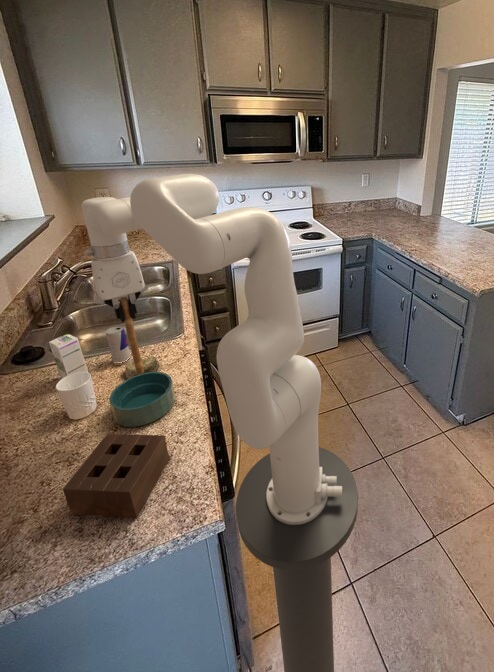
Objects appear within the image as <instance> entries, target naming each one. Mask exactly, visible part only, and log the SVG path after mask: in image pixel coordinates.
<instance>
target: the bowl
mask: <svg viewBox="0 0 494 672" xmlns="http://www.w3.org/2000/svg"><path fill="white" fill-rule="evenodd" d="M175 401H176V393H175V387H174V383H173V380H172V377H171V375H169V374H168V373H165V372H162V371H156V372H148V373H142V374H139V375H136V376H134V377H131V378H129V379H127V378H126V380H124V381H123V382H121V383H120V384H118V385H117V386H116V387H115V388H114V389H113V390H112V391H111V393H110V396H109V406H110V410H111V412H112V413H111V414H112V417H113V420H114V421H115V423H117V425H119V426H122V427H127V428H136V427H140V426H145V425H147V424H150V423H152V422H155V421H157V420H159V419H160V418H161V417H163V416H165V415H166V414H167V413H168V412H169V411H170V410H171V409H172V407H173V406H174V404H175Z"/></svg>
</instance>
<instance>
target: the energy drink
mask: <svg viewBox="0 0 494 672" xmlns="http://www.w3.org/2000/svg"><path fill="white" fill-rule="evenodd" d="M105 336H106V340H107V344H108V348H109V352H110V355H111V360H112V364H113V365H115V366H122V365H126V364H127V363H128V361H130V360H131V359H132V357H130V355H131V350H130V348H129V347H130V346H129V342H128V337H127V333H126V329H125V327H124V326H122V325H115V326H112V327H109V328H107V330H106V331H105ZM129 357H130V358H129ZM128 358H129V359H128ZM127 359H128V360H127ZM125 360H127V361H125ZM122 361H125V362H122ZM114 362H122V363H114Z"/></svg>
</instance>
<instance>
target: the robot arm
mask: <svg viewBox="0 0 494 672" xmlns="http://www.w3.org/2000/svg"><path fill="white" fill-rule="evenodd" d="M219 202H220V193H219V190H218V187H217V185H216V184H215V183H214V182H213V181H212V180H211V179H209V178H208V177H207V176H204V175H201V174H197V173H182V174H175V175H166V176H159V177H158V176H157V177H150V178H146V179H143V180H141V181H139V182H138V183H136V185H135V186H134V187H133V188H132V191H131V193H130V196H128V197H121V198H116V197H112V196H100V197H99V196H98V197H93V198H89V199H88V198H87V199H84V200H83V202H82V203H81V211H82V215H83V218H84V222H85V227H86V230H87V235H88V238H89V242H90V246H89V248H88V249H85V250H84V253H85V256H93V257H91V273H92V280H93V285H94V289H95V293H94V297H93V302H94V304H96V305H107V306H109V307H111V308H113V309H114V314H115V318H116V320H120V321H121V323H124V322H125V317H124V313H123V309H122V307H121V306H120V302H119V298H122V297H127V300H128V305H129V309H130V313H131V317H132V320H133V319H134V320H135V319H137V318H136V314H138V311H137V305H136V303H137V300H138V299H139V298H140V296H141V295H142V294H143V293H145V292H147V291H148V290H149V287H148V285H147V284H146V283H145V281H144V277H143V273H142V270H141V266H140V263H139V259H138V258H137V256H136V253H135V251H134V250H133V251H132V250H130V245H129V240H128V236H127V234H128V233H131V232H136V231H140V230H144V232H145V233H146V234H147V235H148V236H149V237H150V238H151V239H153V241H154V242H156V243H157V244H158V245H159V246H160V247H161V248H162V249H163V250H164V251H165V252H166V253H167V254H168V255H169V256H170V257H171V258H172V259H173V260H175V261H176V262H177V264H179V265H180V266H181V267H182V268H184V269H185V270H187V271H188V272H190V273H193V274H198V275H206V274H210V273H213V272H216V271H218V270H220V269H223V268H225V267H227V266H230V265H233V264H235V263H237V262H239V261H242V260H245V259H248V260H249V262H248V266H247V268H246V273H245V277H244V296H245V300H246V304H247V311H248V316H247V318H246V319H245V321H243V322H242V323H240V324H238V325H236V326H235V327H234V328H232V329H231V330H229V331H228V332H227V333H225V335H224V336H223V337H221V340H220V341H219V343H218V346H217V349H216V366H217V371H218V375H219V379H220V383H221V386H222V390H223V393H224V394H223V395H224V398H225V401H226V402H225V403H226V406H227V409H228V413H229V417H230V420H231V423H232V426H233V428H234V430H235V432H236V434H237V436H238V437H239V439H240V440H241V442H243V443H244V444H245V445H246V446H248V447H249V448H252V449H254V450H263V449H267V448H269V453H270V459H271V469H272V479H271V481H270V483H269V485H268V488H267V493H266V499H267V505H268V508H269V511H270V512H271V514H272V515H273V516H274V517H275V518H276V519H277V520H279V521H280V522H282V523H285V524H289V525H300V524H304V523H307V522H309V521H311V520H313V519H314V518H316V517H317V516H318V515H319V514H320V513H321V512H322V510H323V509H324V507H325V505H326V502H327V498H328V496H330V497H340V498H342V486H327V483H330V484H336V483H337V476H325V474H323V473H322V467H319V447H320V445H319V411H320V403H321V397H322V378H321V374H320V371H319V369H318V367H317V365H315V363H314V362H313V361H312V360H311V359H309V358H308V357H306V356H303V355H300V354H299V355H298V354H297V353H298V352H299V351H300V350H301V349H302V347H303V345H304V342H305V331H304V325H303V319H302V318H303V317H302V313H301V309H300V303H299V297H298V292H297V288H296V282H295V277H294V268H293V267H294V266H293V253H292V245H291V241H290V237H289V234H288V232H287V230H286V227H285V226H284V225H283V223H282V221H280V219H279V218H278V217H277V216H276V215H274V214H273V213H272V212H270V211H269V210H267V209H264V208H261V207H256V206H255V207H253V206H249V207H248V206H246V207H239V208H234V209H230V210H226V211H222V212H218V213H215V214H214V212H215V211H216V210H217V208H218V206H219Z"/></svg>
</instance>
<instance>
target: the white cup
mask: <svg viewBox="0 0 494 672" xmlns="http://www.w3.org/2000/svg"><path fill="white" fill-rule="evenodd" d="M55 389H56V391H57V394H58V398H59V399H60V402H61V404H62V406H63V409H64V411H65V412H66V414H67V415H66V416H67V417H68V418H69V419H70V420H75V421H76V420H81V419H84V418H86V417H89V416H90V415H91V414H92V413H94V412H95V411H96V409H97V407H98V406H97V405H98V403H97V399H96V393H95V386H94V383H93V379H92V374H91V373H90V372H89V371H88V372H77V373H73V374H71V375H68V376H66V377H64V378H63V379H61V378H60V380H59V381H58V382H57V383H56V385H55Z"/></svg>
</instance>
